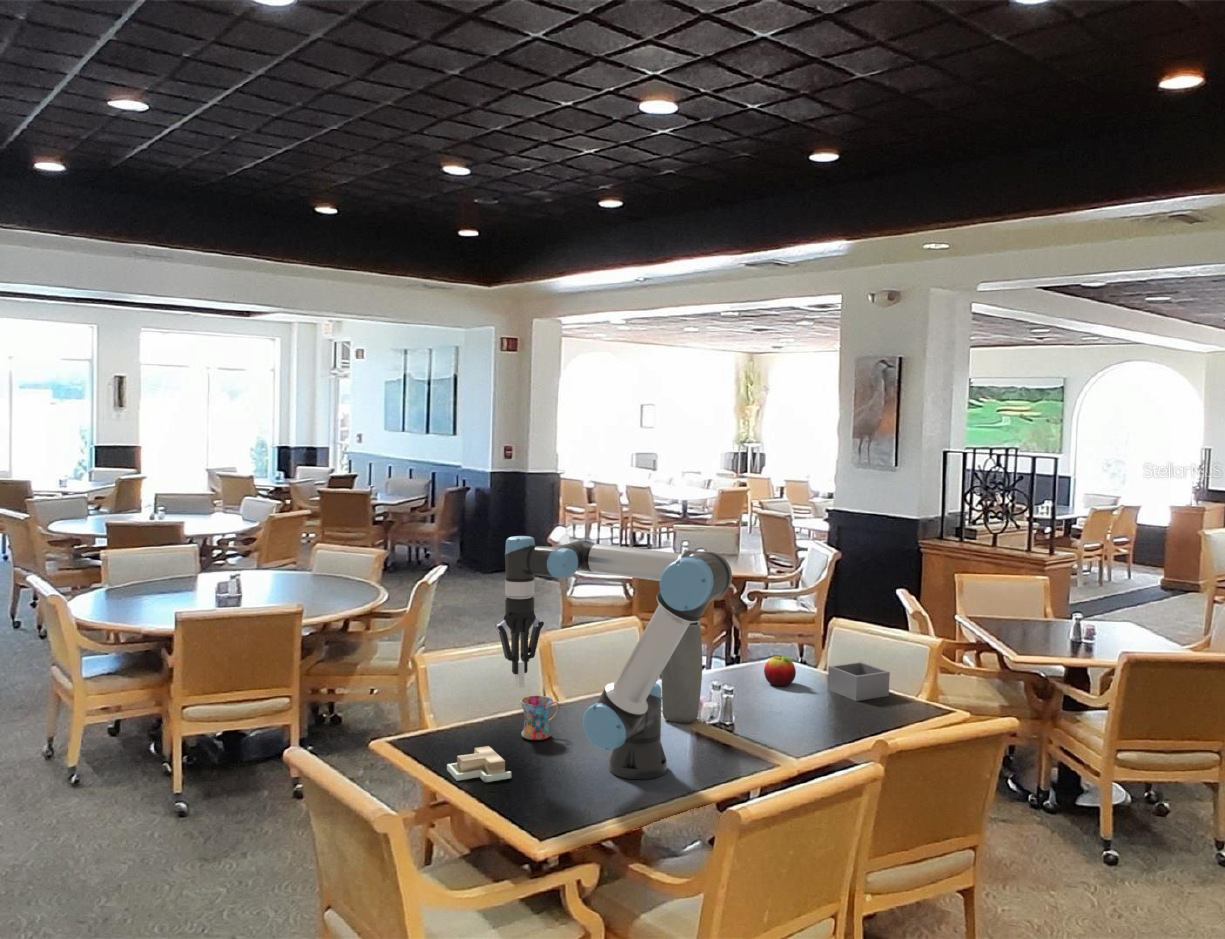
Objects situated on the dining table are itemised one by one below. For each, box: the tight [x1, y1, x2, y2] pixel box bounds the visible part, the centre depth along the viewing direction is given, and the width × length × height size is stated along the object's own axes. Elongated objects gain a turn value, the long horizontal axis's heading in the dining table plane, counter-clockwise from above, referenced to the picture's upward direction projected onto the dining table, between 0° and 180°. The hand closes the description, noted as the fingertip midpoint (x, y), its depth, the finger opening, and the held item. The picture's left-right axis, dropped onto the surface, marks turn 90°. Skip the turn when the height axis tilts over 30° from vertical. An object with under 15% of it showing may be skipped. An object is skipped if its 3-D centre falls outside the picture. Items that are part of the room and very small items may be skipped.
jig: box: [446, 762, 512, 783], centre depth 253 cm, size 16×13×2 cm
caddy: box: [827, 661, 891, 702], centre depth 328 cm, size 14×14×8 cm
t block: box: [456, 745, 506, 775], centre depth 253 cm, size 12×10×4 cm
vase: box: [660, 620, 703, 724], centre depth 296 cm, size 12×12×30 cm
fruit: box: [763, 654, 797, 687], centre depth 336 cm, size 11×11×10 cm
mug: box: [519, 695, 561, 741], centre depth 280 cm, size 12×9×11 cm
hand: (519, 685), depth 256 cm, fingers closed
